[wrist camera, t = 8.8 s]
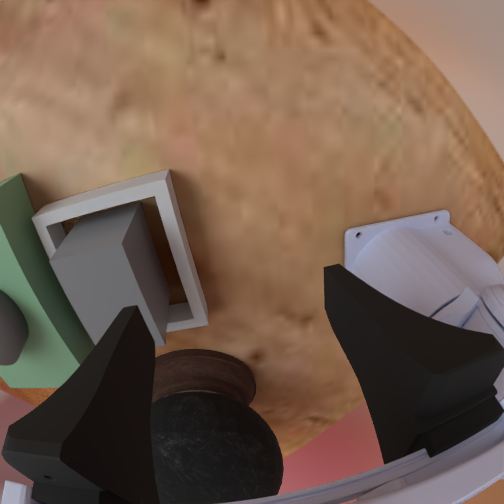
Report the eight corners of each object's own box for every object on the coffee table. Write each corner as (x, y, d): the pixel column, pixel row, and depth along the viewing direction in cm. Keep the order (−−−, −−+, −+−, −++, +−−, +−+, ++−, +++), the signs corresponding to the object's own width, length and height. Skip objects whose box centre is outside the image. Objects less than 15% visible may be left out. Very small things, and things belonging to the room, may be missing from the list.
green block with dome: (158, 126, 17) (138, 146, 12) (215, 332, 25) (220, 392, 20) (-59, 212, 16) (-102, 249, 11) (23, 357, 24) (4, 404, 19)
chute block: (140, 201, 19) (121, 243, 14) (170, 290, 23) (165, 345, 18) (80, 217, 19) (49, 261, 14) (116, 300, 23) (101, 354, 18)
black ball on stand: (285, 395, 31) (320, 526, 18) (181, 430, 33) (188, 548, 20) (220, 318, 25) (245, 512, 12) (100, 370, 26) (77, 521, 13)
